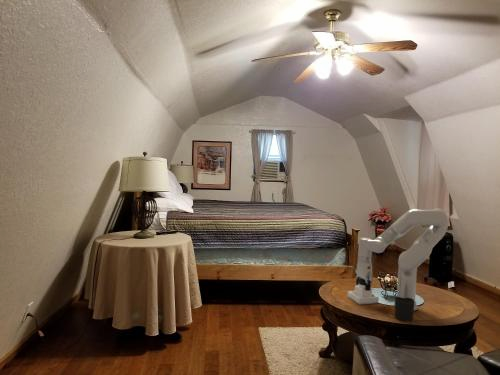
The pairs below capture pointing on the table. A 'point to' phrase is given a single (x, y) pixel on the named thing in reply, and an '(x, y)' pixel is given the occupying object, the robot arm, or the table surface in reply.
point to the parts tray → (362, 300)
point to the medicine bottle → (362, 289)
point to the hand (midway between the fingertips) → (363, 287)
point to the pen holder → (404, 308)
